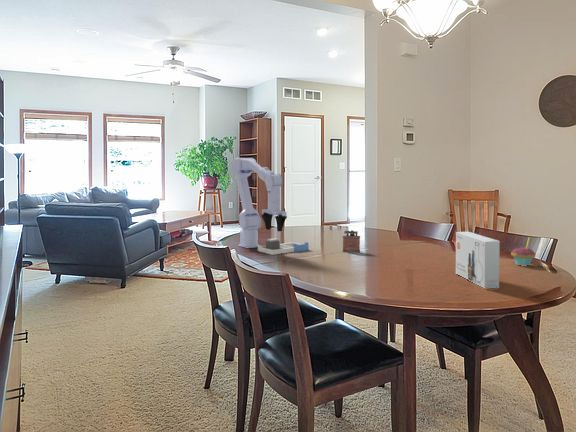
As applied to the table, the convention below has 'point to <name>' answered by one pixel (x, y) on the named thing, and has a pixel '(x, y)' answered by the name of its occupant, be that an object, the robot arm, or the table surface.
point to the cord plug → (272, 244)
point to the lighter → (351, 242)
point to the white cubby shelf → (285, 248)
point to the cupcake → (523, 255)
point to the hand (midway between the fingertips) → (273, 230)
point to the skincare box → (478, 259)
